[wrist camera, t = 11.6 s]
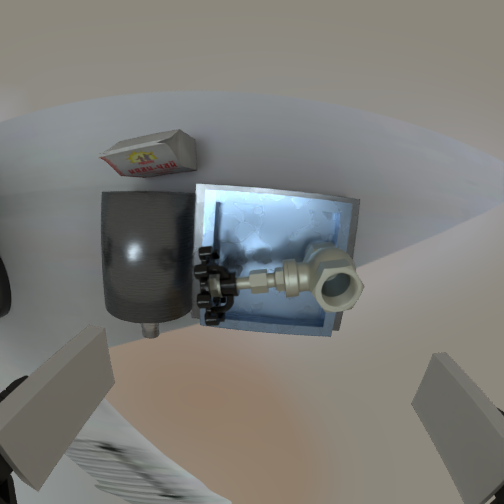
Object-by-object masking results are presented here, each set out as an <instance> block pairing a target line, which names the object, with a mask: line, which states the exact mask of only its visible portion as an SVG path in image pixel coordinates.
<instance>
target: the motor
mask: <svg viewBox="0 0 504 504" xmlns="http://www.w3.org/2000/svg"><path fill="white" fill-rule="evenodd" d="M359 205H360V199H353V198H346V197H339V196H331V195H323V194H315V193H306V192H297V191H287V190H277V189H266V188H254V187H240V186H226V185H208V184H196V194H195V193H181V192H155V191H110V192H102V202H101V247H102V269H103V284H104V295H105V305H106V309H107V311H108V312H109V313H110V314H111V315H113V316H114V317H116V318H119V319H121V320H124V321H128V322H134V323H142V334H143V336H144V337H146V338H156V337H158V336H159V323H161V322H167V321H171V320H175V319H178V318H180V317H182V316H184V315H186V314H187V313H188V312H190V310H191V309H192V318H198V319H200V325H203V326H207V325H206V324H205V320H204V315H205V312H206V310H205V309H199V308H198V306H197V294H199V293H200V282H199V280H197V279H196V278H195V275H194V266H195V265H197V264H201V260H200V259H199V254H198V250H199V247H203V246H212V247H213V249H218V250H219V254H220V259H215V261H216V264H217V265H220V266H223V267H225V268H227V269H228V270H229V272H233V271H236V272H237V273H238V277H246V276H249V272H250V271H251V270H259V269H266V270H267V273H273V272H274V271H275V268H278V267H283V263H282V260H287V259H295V261H296V262H297V263H298V262H303V260H304V258H305V256H306V254H307V252H308V250H309V248H310V246H311V244H317V243H326V242H333V243H334V245H335V246H336V247H337V248H339V249H341V250H343V251H345V252H346V253H347V254H348V255H349V256H350V257H351V258H352V259H353V253H354V246H355V239H356V231H357V223H358V214H359ZM210 275H211V274H210ZM212 300H213V297H212ZM225 304H226V303H221V306H224V305H225ZM342 314H343V311H340V312H325V311H324V310H323V308H322V307H321V306H320V304H319V303H318V302H317V300H316V299H315V297H314V296H313V295H312V293H311V292H310V291H304V292H299V296H297V297H288V298H287V297H286V292H285V291H280V292H278V291H277V289H276V288H275V287H272V288H269V293H260V294H252V293H251V289H241V290H240V294H239V296H234V304H233V306H232V308H231V309H230V310H229V311H227V312H225V322H220V324H219V325H217V326H211V327H219V328H227V329H236V330H245V331H255V332H266V333H278V334H294V335H308V336H309V335H310V336H329V337H331V333H332V330H337V331H338V330H339V328H340V324H341V319H342Z"/></svg>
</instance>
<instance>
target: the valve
mask: <svg viewBox="0 0 504 504" xmlns="http://www.w3.org/2000/svg"><path fill="white" fill-rule="evenodd" d="M198 254H199V259H200V260H201V264H197V265H195V266H194V275H195V278H196V279H197V280H199V282H200V293H199V294H197V306H198V308H199V309H205V310H206V312H205V315H204V320H205V324H206V325H207V326H217V325H219V324H220V322H225V312H227V311H229V310H230V309H231V308H232V306H233V304H234V296H239V294H240V290H241V289H251V293H252V294H260V293H269V288H272V287H275V288H276V289H277V291H278V292H280V291H285V292H286V297H287V298H288V297H297V296H299V292H304V291H310V292H311V293H312V295H313V296H314V297H315V299H316V300H317V302H318V303H319V304H320V306H321V307H322V308H323V310H324V311H325V312H340V311H345V310H349V309H352V308H353V306H354V305H355V303H356V302H357V300H358V299H359V297H360V295H361V293H362V291H363V288H364V285H363V283H362V281H361V280H360V278H359V277H358V275H357V273H356V267H355V264H354V262H353V260H352V258H351V257H350V256H349V255H348V254H347V253H346V252H345V251H343V250H341V249H339V248H337V247H336V246H335V245H334V243H333V242H326V243H317V244H311V246H310V248H309V250H308V252H307V254H306V256H305V258H304V260H303V262H298V263H297V262H296V261H295V259H287V260H282V263H283V267H278V268H275V271H274V272H273V273H267V270H266V269H259V270H251V271H250V272H249V276H246V277H238V273H237V272H236V271H233V272H229V270H228V269H227V268H225V267H223V266H220V265H217V264H216V261H215V259H220V254H219V250H218V249H213V247H212V246H203V247H199V250H198ZM210 274H211V275H210ZM212 297H213V300H212ZM221 303H226V304H225V305H224V306H221Z"/></svg>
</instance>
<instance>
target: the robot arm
mask: <svg viewBox="0 0 504 504" xmlns="http://www.w3.org/2000/svg"><path fill="white" fill-rule="evenodd" d="M10 302H11V296H10V287H9V282H8V278H7V274H6V271H5V268H4V266H3V263H2V261H1V259H0V318H1V317H3V316H4V315H6V314H7V313H8V311H9V308H10ZM114 383H115V381H114V376H113V371H112V366H111V362H110V356H109V351H108V345H107V339H106V332H105V328H101V327H97V326H93V325H89V326H87V327H86V328H85V329H84V330H83V331H81V332H80V333H79V334H78V335H77V336H75V337H74V338H73V339H72V340H71V341H69V342H68V343H67V344H66V345H65V346H63V347H62V348H61V349H60V350H59V351H58V352H56V353H55V354H54V355H53V356H52V357H51V358H49V359H48V360H47V361H46V362H45V363H44V364H43V365H41V366H40V367H39V368H38V369H37V370H36V371H35V372H34V373H32V374H31V375H30V376H27V375H26V376H24V377H21V378H19V379H17V380H15V381H14V382H12V383H11V384H10V385H9V386H8V387H7V388H6V390H3V391H2V392H1V393H0V504H17V500H16V494H15V488H14V482H13V478H12V476H11V475H10V474H11V472H12V471H14V472H15V473H16V474H17V475H18V477H19V478H20V479H21V480H22V481H23V482H25V483H26V484H27V485H29V486H31V487H32V488H33V489H35V490H37V491H39V490H40V488H41V487H42V485H43V484H44V482H45V481H46V479H47V478H48V476H49V475H50V473H51V472H52V470H53V469H54V467H55V466H56V465H57V463H58V461H59V460H60V459H61V457H62V456H63V454H64V453H65V451H66V450H67V449H68V447H69V446H70V444H71V443H72V441H73V440H74V439H75V437H76V436H77V434H78V433H79V431H80V430H81V429H82V427H83V426H84V424H85V423H86V422H87V420H88V419H89V418H90V416H91V415H92V413H93V412H94V411H95V409H96V408H97V406H98V405H99V404H100V402H101V401H102V400H103V398H104V397H105V395H106V394H107V393H108V391H109V390H110V389H111V387H112V386H113V385H114ZM411 404H412V406H413V408H414V410H415V411H416V413H417V415H418V416H419V418H420V420H421V422H422V423H423V425H424V427H425V429H426V431H427V432H428V434H429V435H430V437H431V440H432V441H433V443H434V445H435V447H436V449H437V451H438V452H439V454H440V456H441V458H442V460H443V462H444V464H445V465H446V467H447V469H448V471H449V473H450V475H451V477H452V479H453V481H454V483H455V485H456V487H457V489H458V491H459V493H460V496H461V497H462V500H463V502H464V504H485V503H486V502H487V501H488V500H489V499H490V498H491V497H492V496H493V495H495V497H496V498H495V499H494V500H493V501H492V502H491V503H490V504H504V412H503V411H501V410H500V409H498V408H497V407H496V406H495V405H494V404H493V403H492V402H491V401H490V399H489V398H488V397H487V396H486V395H485V394H484V393H483V392H482V390H481V389H480V388H479V387H478V386H477V385H476V384H475V383H474V382H473V380H472V379H471V378H470V377H469V376H468V375H467V374H466V373H465V372H464V371H463V370H462V369H461V368H460V366H458V364H457V363H456V362H455V361H454V360H453V359H452V358H451V357H450V356H449V355H448V354H447V353H445V352H444V353H434V354H433V355H432V357H431V360H430V363H429V365H428V368H427V370H426V372H425V375H424V377H423V380H422V382H421V384H420V386H419V388H418V391H417V393H416V395H415V397H414V399H413V401H412V403H411Z"/></svg>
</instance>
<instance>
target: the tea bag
mask: <svg viewBox="0 0 504 504" xmlns="http://www.w3.org/2000/svg"><path fill="white" fill-rule="evenodd" d="M99 154H105V155H103V156H101V157H99V158H101V159H103V160H104V161H106V162H107V163H108V164H109V165H110V166H111V167H112V168H113V169H114V170H115V171H116V172H117V173H118V174H120V175H121V176H130V177H142V178H145V177H152V176H158V175H165V174H172V173H179V172H187V171H195V170H197V164H196V147H195V139H193V138H192V137H190V136H189V135H187V134H186V133H185V132H183V131H182V130H180V129H178V130H173V131H167V132H162V133H156V134H151V135H147V136H142V137H137V138H133V139H128V140H124V141H120V142H118V143H117V144H116V145H114V146H113V147H111V148H110V149H109V150H107V151H105V152H103V153H99Z"/></svg>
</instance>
